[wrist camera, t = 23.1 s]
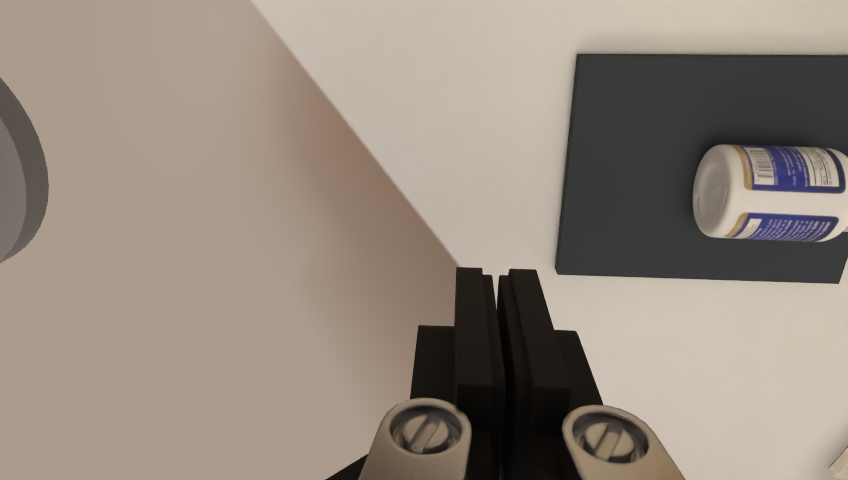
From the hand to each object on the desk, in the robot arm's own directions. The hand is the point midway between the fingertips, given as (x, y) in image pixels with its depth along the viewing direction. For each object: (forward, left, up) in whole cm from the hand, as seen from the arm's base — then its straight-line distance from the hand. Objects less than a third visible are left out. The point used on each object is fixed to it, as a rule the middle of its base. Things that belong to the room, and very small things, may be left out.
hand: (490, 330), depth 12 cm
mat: (+15, -3, -25) cm, 29 cm away
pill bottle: (+13, -3, -21) cm, 25 cm away
